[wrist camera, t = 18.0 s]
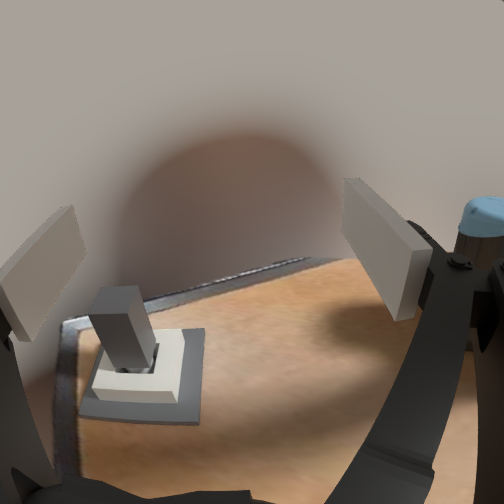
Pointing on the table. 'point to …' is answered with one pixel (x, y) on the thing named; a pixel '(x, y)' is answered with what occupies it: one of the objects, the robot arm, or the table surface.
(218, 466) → the table surface
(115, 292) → the plug
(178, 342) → the socket
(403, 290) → the robot arm
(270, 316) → the table surface
